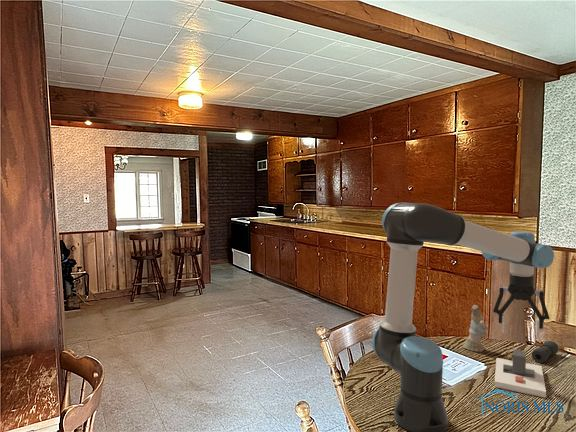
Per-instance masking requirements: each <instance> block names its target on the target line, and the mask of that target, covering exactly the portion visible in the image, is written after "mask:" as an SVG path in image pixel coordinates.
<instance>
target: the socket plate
mask: <svg viewBox="0 0 576 432" xmlns="http://www.w3.org/2000/svg"><path fill="white" fill-rule="evenodd" d="M512 370H513V359H512V360H511V359H506V358H500V357H496V359H495V372H494V383H493V385H494V388H498V389H502V390H508V391H513V392H518V393H522V394H526V395H532V396H536V397H541V398H547V390H546V384H545V378H544V373H543V366H542V365H537V364H533V363H527V362H526V370H525V376H520V375H515V374H512Z"/></svg>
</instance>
